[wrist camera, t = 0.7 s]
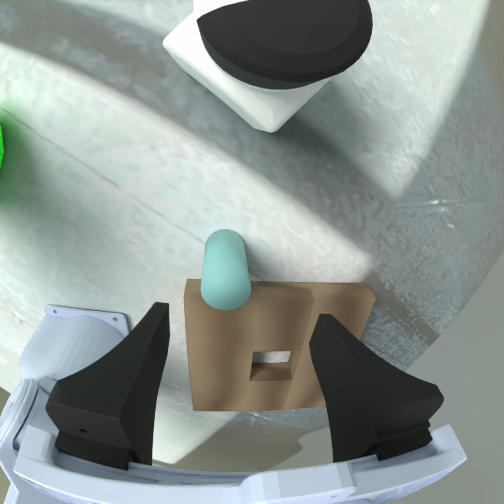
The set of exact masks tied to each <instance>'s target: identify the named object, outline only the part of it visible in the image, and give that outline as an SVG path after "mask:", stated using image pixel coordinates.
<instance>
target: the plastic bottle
mask: <svg viewBox="0 0 504 504" xmlns="http://www.w3.org/2000/svg"><path fill="white" fill-rule="evenodd" d="M3 155H4V143H3V134H2V131H1V125H0V168H1V164H2V160H3Z"/></svg>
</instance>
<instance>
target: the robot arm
mask: <svg viewBox="0 0 504 504" xmlns="http://www.w3.org/2000/svg"><path fill="white" fill-rule="evenodd" d="M44 309H45V312H46V316H45V317H44V319H43V320H42V322H41V323H40V325H39V326H38V328H37V329H36V331H35V332H34V334H33V336H32V337H31V339H30V340H29V342H28V344H27V345H26V347H25V348H24V350H23V353H22V355H21V359H20V367H19V373H20V379H21V381H20V382H19V384H18V385H17V386H16V388H15V389H14V391H13V392H12V394H11V396H10V397H9V399H8V401H7V403H6V405H5V407H4V409H3V412H2V414H1V417H0V465H1V467H2V469H3V470H4V472H5V474H6V475H7V477H8V479H9V480H10V482H11V485H10V487H9V490H8V493H7V495H6V498H5V501H4V504H387V503H389V502H392V501H394V500H397V499H399V498H401V497H404V496H406V495H408V494H410V493H412V492H415V491H417V490H419V489H421V488H423V487H425V486H427V485H429V484H431V483H433V482H435V481H437V480H439V479H440V478H442V477H443V476H445V475H446V474H448V473H449V472H450V471H452V470H453V469H454V468H456V467H457V466H459V465H460V464H461V463H462V462H464V461H465V460H466V459H467V457H466V455H465V453H464V451H463V449H462V447H461V446H460V443H459V441H458V439H457V437H456V435H455V433H454V432H453V430H452V428H451V426H450V424H447V425H445V426H443V427H440V428H437V429H435V430H433V431H431V432H429V430H428V428H429V427H430V423H429V421H428V420H429V418H431V417H432V416H433V415H434V413H435V412H436V411H437V410H438V409H439V408H440V406H441V405H442V403H443V401H444V397H443V395H442V393H441V392H440V390H439V388H438V387H437V385H434V384H432V383H429V382H426V381H423V380H421V379H418V378H416V377H414V376H411V375H409V374H407V373H405V372H403V371H401V370H400V369H398V368H396V367H394V366H393V365H391V364H389V363H388V362H386V361H385V360H383V359H382V358H381V357H379V356H378V355H376V354H375V353H374V352H372V351H371V350H370V349H369V348H368V347H366V346H365V345H364V344H363V343H362V342H361V341H359V340H358V339H357V338H356V337H355V336H354V335H353V334H352V333H351V332H350V331H349V330H348V329H347V328H346V327H345V326H343V325H342V324H341V323H340V322H339V321H338V320H337V319H336V318H335V317H334V316H333V315H332V314H319V316H318V319H317V322H316V325H315V328H314V331H313V333H312V336H311V339H310V341H309V348H310V354H311V359H312V363H313V366H314V369H315V372H316V375H317V378H318V381H319V384H320V387H321V390H322V393H323V396H324V399H325V403H326V408H327V413H328V418H329V425H330V431H331V440H332V448H333V463H329V464H323V465H317V466H309V467H302V468H292V469H282V470H272V471H262V472H209V471H193V470H182V469H173V468H164V467H157V466H152V447H153V431H154V419H155V409H156V400H157V395H158V390H159V386H160V382H161V378H162V374H163V370H164V366H165V362H166V358H167V353H168V346H169V339H170V326H169V303H161V302H155V303H154V304H153V306H152V307H151V308H150V310H149V311H148V312H147V313H146V315H145V316H144V317H143V318H142V320H141V321H140V322H139V323H138V324H137V325H136V326H135V328H134V329H133V330H132V331H131V332H130V333H129V330H128V325H127V321H126V317H125V316H124V315H123V314H120V313H110V312H100V311H91V310H83V309H75V308H67V307H60V306H53V305H46V306H45V308H44ZM114 317H115V318H117V319H115V318H114Z"/></svg>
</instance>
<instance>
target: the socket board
mask: <svg viewBox="0 0 504 504" xmlns="http://www.w3.org/2000/svg"><path fill="white" fill-rule="evenodd" d="M201 281H202V280H199V279H187V282H186V287H185V293H184V310H185V327H186V341H187V354H188V365H189V376H190V386H191V395H192V403H193V410H195V411H268V410H284V409H296V408H307V407H316V406H324V405H326V403H325V399H324V396H323V393H322V390H321V387H320V384H319V381H318V378H317V375H316V372H315V369H314V366H313V363H312V359H311V354H310V348H309V341H310V339H311V336H312V333H313V331H314V328H315V325H316V322H317V319H318V316H319V314H332V315H333V316H334V317H335V318H336V319H337V320H338V321H339V322H340V323H341V324H342V325H343V326H345V327H346V328H347V329H348V330H349V331H350V332H351V333H352V334H353V335H354V336H355V337H356V338H357V339H358V340H359V341H360V339H361V336H362V334H363V331H364V329H365V327H366V324H367V321H368V319H369V316H370V314H371V311H372V308H373V306H374V303H375V300H376V297H375V295H374V294H373V293H372V291H371V290H370V289H369V287H368V286H367V285H366V283H308V282H257V281H250V284H251V293H250V296H249V298H248V300H247V301H246V302H245V303H244V304H243V305H242V306H240V307H238V308H236V309H232V310H220V309H216V308H214V307H212V306H210V305H209V304H207V303H206V302H205V300H204V299H203V297H202V295H201ZM270 351H291V354H290V357H289V361H288V363H252V358H253V352H270Z"/></svg>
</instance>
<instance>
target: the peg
mask: <svg viewBox="0 0 504 504" xmlns="http://www.w3.org/2000/svg"><path fill="white" fill-rule="evenodd" d="M250 293H251V284H250V278H249V272H248V266H247V260H246V254H245V247H244V242H243V240H242V238H241V237H240V235H239V234H237V233H236V232H234V231H232V230H227V229H223V230H218V231H216V232H214V233H213V234H211V235H210V236H209V238H208V239H207V242H206V247H205V255H204V264H203V272H202V281H201V295H202V297H203V299H204V300H205V302H206V303H207V304H209V305H210V306H212V307H214V308H216V309H220V310H232V309H236V308H238V307H240V306H242V305H243V304H244V303H245V302H246V301H247V300H248V298H249V296H250Z"/></svg>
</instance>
